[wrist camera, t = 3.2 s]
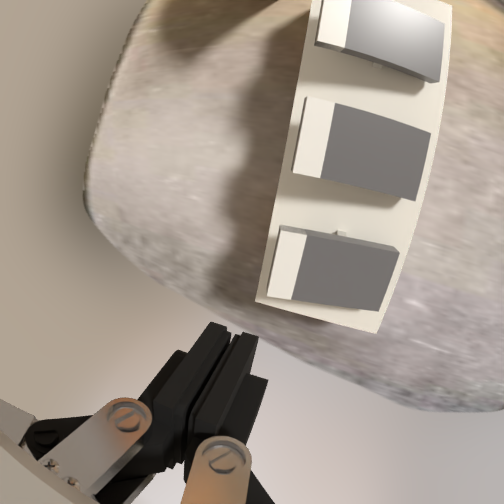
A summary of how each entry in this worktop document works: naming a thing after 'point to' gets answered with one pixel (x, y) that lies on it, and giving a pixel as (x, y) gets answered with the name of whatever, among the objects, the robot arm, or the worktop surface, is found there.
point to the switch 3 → (330, 269)
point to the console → (348, 196)
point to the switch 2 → (359, 149)
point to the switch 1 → (383, 35)
